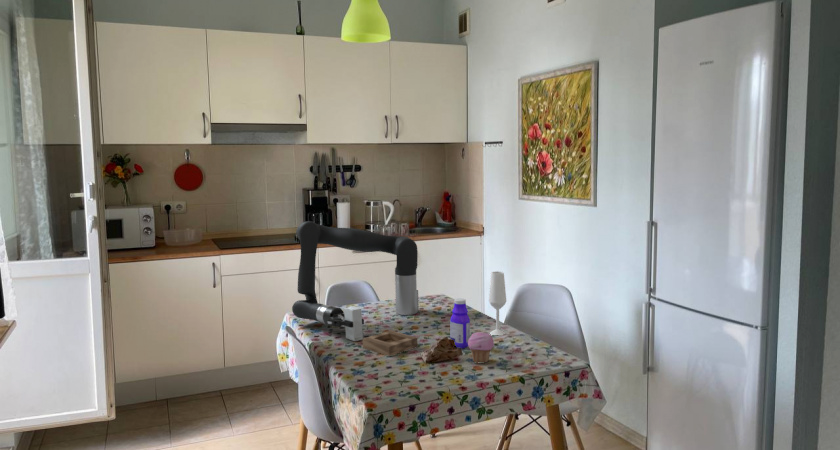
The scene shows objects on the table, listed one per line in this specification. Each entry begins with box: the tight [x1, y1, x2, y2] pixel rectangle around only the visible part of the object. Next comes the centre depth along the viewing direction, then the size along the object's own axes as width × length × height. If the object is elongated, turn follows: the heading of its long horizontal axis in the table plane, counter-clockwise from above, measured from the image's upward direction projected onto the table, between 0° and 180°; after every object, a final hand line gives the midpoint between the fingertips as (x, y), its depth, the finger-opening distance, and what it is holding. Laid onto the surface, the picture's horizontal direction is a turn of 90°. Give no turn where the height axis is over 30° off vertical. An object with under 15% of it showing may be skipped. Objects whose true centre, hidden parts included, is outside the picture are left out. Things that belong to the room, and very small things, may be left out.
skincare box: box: [343, 305, 364, 342], centre depth 242 cm, size 6×4×12 cm
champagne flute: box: [488, 270, 507, 336], centre depth 245 cm, size 7×7×24 cm
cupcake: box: [468, 331, 495, 364], centre depth 215 cm, size 9×9×10 cm
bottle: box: [449, 297, 471, 349], centre depth 231 cm, size 7×6×17 cm
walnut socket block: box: [362, 330, 418, 357], centre depth 232 cm, size 14×14×4 cm
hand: (357, 323), depth 240 cm, fingers closed on skincare box, 4 cm apart
